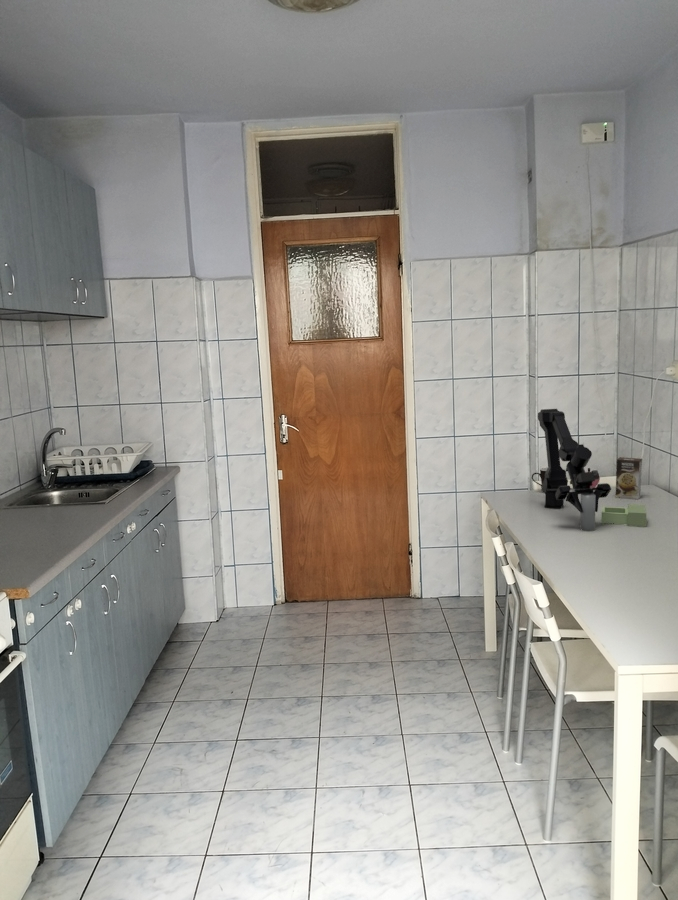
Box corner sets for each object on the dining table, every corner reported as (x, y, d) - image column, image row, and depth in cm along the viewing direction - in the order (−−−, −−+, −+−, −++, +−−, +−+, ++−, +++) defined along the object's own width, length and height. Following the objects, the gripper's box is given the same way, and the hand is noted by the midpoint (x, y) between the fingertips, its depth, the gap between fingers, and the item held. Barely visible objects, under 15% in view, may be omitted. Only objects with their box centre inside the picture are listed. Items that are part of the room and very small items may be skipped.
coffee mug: (561, 490, 320) (562, 467, 318) (558, 494, 312) (559, 471, 311) (534, 488, 325) (534, 466, 323) (531, 493, 317) (531, 470, 316)
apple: (573, 490, 320) (573, 467, 318) (590, 488, 322) (591, 465, 320) (585, 494, 311) (585, 471, 309) (603, 492, 313) (604, 469, 311)
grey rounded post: (579, 530, 260) (580, 496, 258) (580, 526, 265) (581, 492, 262) (594, 531, 258) (595, 496, 256) (595, 527, 263) (595, 493, 261)
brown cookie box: (614, 497, 304) (615, 459, 301) (618, 494, 309) (619, 456, 307) (638, 499, 299) (639, 460, 296) (641, 496, 305) (642, 458, 302)
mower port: (601, 524, 266) (601, 511, 265) (602, 515, 277) (602, 503, 276) (646, 526, 261) (646, 513, 260) (644, 518, 272) (645, 505, 271)
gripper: (558, 464, 261) (570, 501, 252) (609, 461, 262) (622, 498, 253) (550, 481, 270) (561, 517, 261) (599, 478, 271) (612, 514, 262)
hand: (589, 511), depth 259 cm, fingers closed on grey rounded post, 5 cm apart
